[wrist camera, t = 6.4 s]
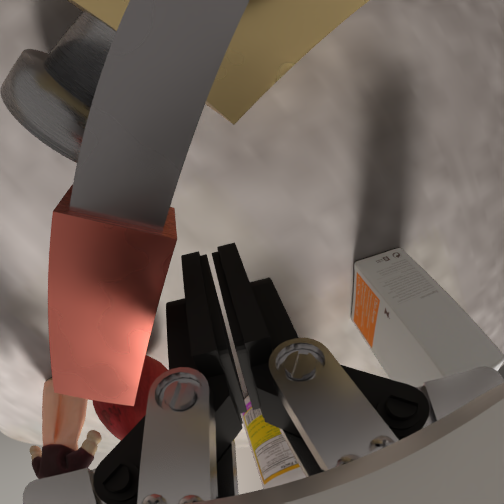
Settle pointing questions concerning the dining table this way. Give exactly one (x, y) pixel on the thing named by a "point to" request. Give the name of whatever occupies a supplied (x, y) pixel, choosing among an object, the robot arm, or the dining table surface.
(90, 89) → the valve
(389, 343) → the skincare box
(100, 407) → the onion
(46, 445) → the grandmother figurine
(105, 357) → the lever
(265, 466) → the supplement bottle
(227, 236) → the dining table surface
